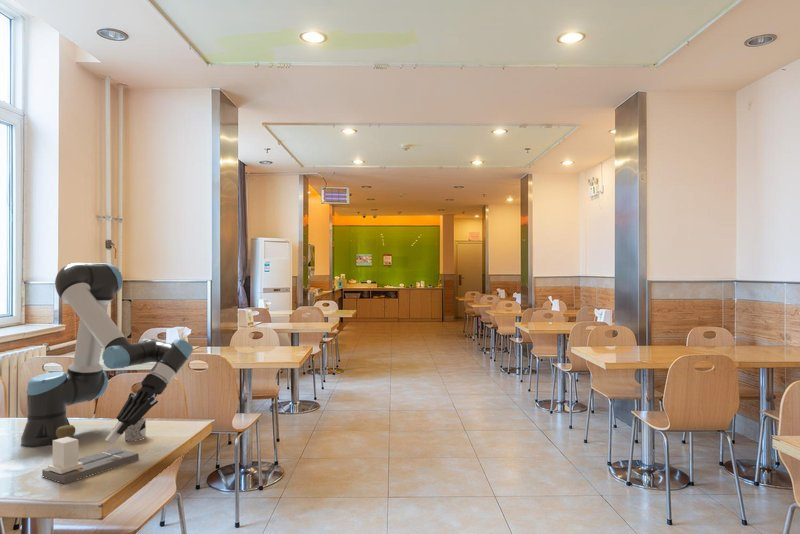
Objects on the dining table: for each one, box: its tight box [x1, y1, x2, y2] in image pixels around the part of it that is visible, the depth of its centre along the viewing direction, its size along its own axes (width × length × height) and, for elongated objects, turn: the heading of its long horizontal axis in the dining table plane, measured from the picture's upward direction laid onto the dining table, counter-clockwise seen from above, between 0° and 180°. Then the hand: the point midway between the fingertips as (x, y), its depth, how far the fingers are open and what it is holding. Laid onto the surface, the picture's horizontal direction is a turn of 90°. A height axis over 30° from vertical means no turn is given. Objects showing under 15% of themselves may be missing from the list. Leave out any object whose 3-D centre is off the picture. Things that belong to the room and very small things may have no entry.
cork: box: [56, 424, 76, 439], centre depth 163 cm, size 6×6×11 cm
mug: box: [124, 417, 147, 442], centre depth 187 cm, size 10×7×7 cm, turn 22°
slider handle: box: [47, 437, 83, 474], centre depth 149 cm, size 6×7×8 cm
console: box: [41, 447, 140, 485], centre depth 156 cm, size 22×12×2 cm, turn 150°
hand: (109, 442), depth 160 cm, fingers closed
